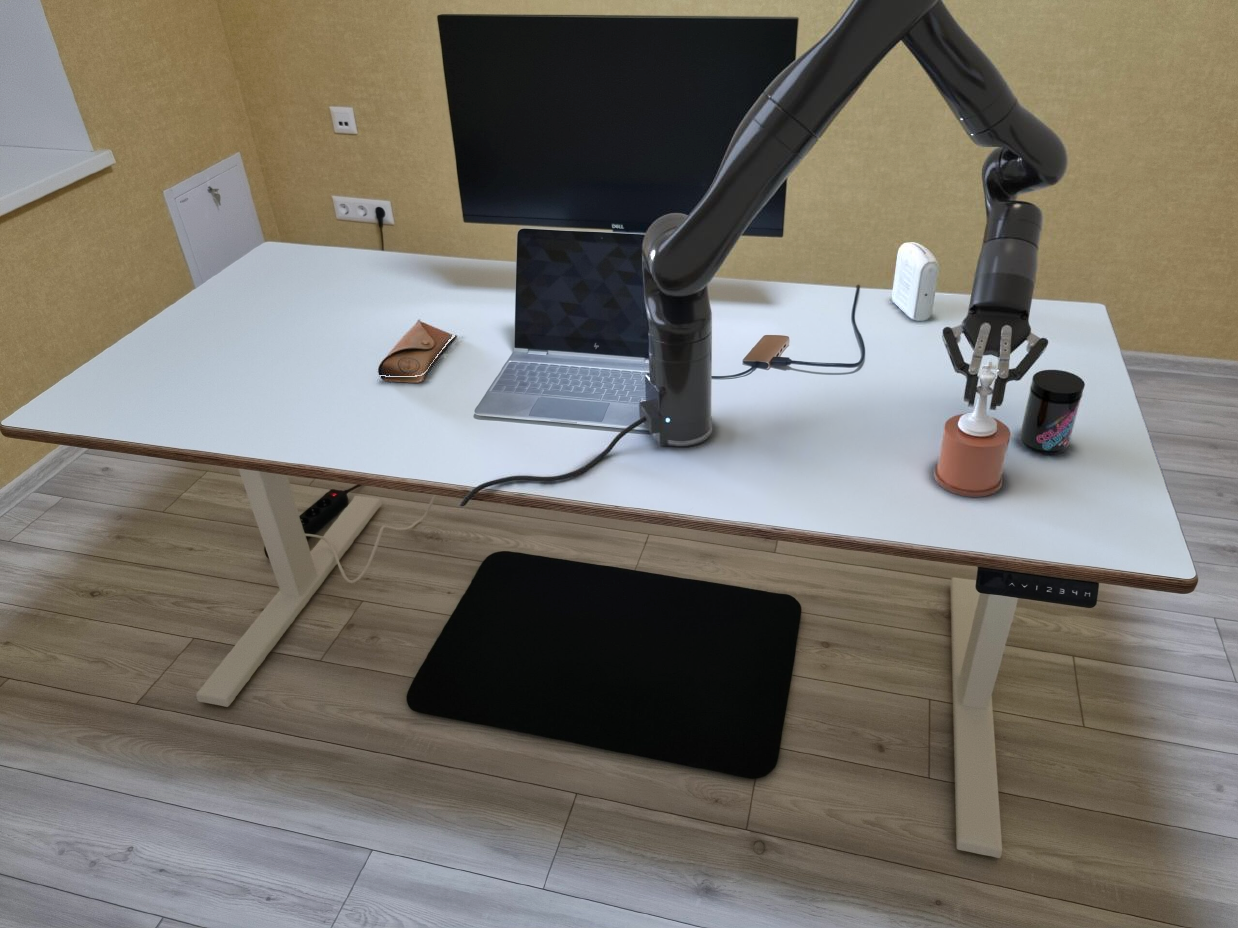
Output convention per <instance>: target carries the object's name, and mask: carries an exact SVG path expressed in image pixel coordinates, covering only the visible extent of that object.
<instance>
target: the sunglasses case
mask: <svg viewBox="0 0 1238 928" xmlns="http://www.w3.org/2000/svg"><path fill="white" fill-rule="evenodd" d="M452 335H453V334H452V333H450V332H447V331H445V330H442V329H440V328H437V327H435V326H433V325H431V324H428V323H426V322H423V321H421V318H418V319H417V320H416V323H414V325H413V326H412V327H411V328H410V329H409V330H408V331H406V333H405V334H404V335H403V336H402V337H401V338H400V340H399V341H397V343H396V344H395V345H394V347H393V348H392V349H391V350H390V351H389V352H388V353H387V354H386V356H385V357H384V358H383V359H382V360H381V362H380V363H379V365H378V368H377V374H378V376H379V375H386V376H389V375H390V376H415V375H421V374H422V373H424V372H425V371H426V370H427V369H428V367H429V366H430V364H431V363H432V362H433V360H434V359H435V357H436V356H437V354H439V352H440V351H441V350H442V348H443V347H444V346H445V344H446V343H447V342H448V340H449V339H451V337H452ZM454 335H455V337H454V338H453V339H452V340H451V341H450V342H449V343H448V344H447V345H446V347H445V348H444V349H443V350H442V352H441V353H440V354H439V355H438V357H437V358H436V359H435V360H434V362H433V363H432V364H431V366H430V367H429V369H428V371H427V372H426V373H425V374H424V375H422V376H417V377H385V376H381V377H380V376H379V378H380V379H381V380H382V381H383V382H386V383H388V382H389V383H396V384H418V383H422V382H424V381H425V380H426V378H427V376H428V374H429V373H430V371H431V370H432V368H433V367H434V365H436V363H437V362H438V360H439V359H440V358H441V357H442V356H443V355H444V354H445V352H446V351H447V350H448V348H449V347H450V346H451V345H452V344H453V343H454V341H455V340H456V339H457V337H458V335H457V334H454Z"/></svg>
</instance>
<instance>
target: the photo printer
mask: <svg viewBox="0 0 1238 928" xmlns="http://www.w3.org/2000/svg"><path fill="white" fill-rule="evenodd" d="M937 260H938V259H936V257H935V255H934V254H933V253H932V252H931V251H930V250H929V249H928V248H927V247H926V246H924V245H922V244H921V243H918V242H914V241H910V242H903V244H901V246H900V247H899V248H898V250H897V257H896V263H895V270H894V277H893V284H892V285H893V286H892V292H891V300H892V302H893V303H894V304H895V305H896V306H897V307H898V308H899V309H900V310H901V311H902V312H903V313H904V314H905V315H906V316H907V317H908V318H910V320H914V321H917V322H923V321H927V320H929V318H931V317H932V314H933V309H934V303H935V298H936V292H937V285H938V279H939V274H940V273H939V272H940V265H939V262H938V261H937Z"/></svg>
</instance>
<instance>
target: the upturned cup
mask: <svg viewBox="0 0 1238 928" xmlns="http://www.w3.org/2000/svg"><path fill="white" fill-rule="evenodd" d="M965 414H966V413H960V414H957V415H953V416H951V417H950V418H948V419H947V420H946V421H945V423H944V426H943V432H942V437H941V443H940V448H939V454H938V460H937V463H936V464H935V466H934V470H933V478H934V479H935V482H936V483H937V484H938V485H939V487H941V488H942V489H944V490H945V491H948V492H950V493H952V494H954V495H958V496H960V497H961V496H962V497H965V498H967V497H968V498H983V497H988V496H991V495H994V494H995V493H997V492H998V491H1000V489H1001V488H1002V485H1003V480H1004V475H1003V470H1004V467H1005V461H1006V457H1007V452H1008V448H1009V444H1010V440H1011V431H1010V428H1009V427H1008V426H1007V424H1005V423H1004V422H1003V421H1001V420H999V419H997V418H995V417H992V416H991V417H992V418H993V419H994V420H995V421H996V423H997V430H996V432H995V433H994V434H992V435H989V436H973V435H969V434H967V433H965V432H963V431H962V430H961V429H960V428H959V427H958V422H959V419H960V417H961V416H963V415H965Z"/></svg>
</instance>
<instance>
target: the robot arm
mask: <svg viewBox="0 0 1238 928" xmlns="http://www.w3.org/2000/svg"><path fill="white" fill-rule="evenodd" d="M957 21H958V20H956V18H954V16H953V15H952V13H951V12H950V11H949V9H948V7H947V6H946V4H945V3H944V1H943V0H852V1H850V3H849V5H848V7H847V8H846V10H845V11H844V12H843V13H842V15H841V16H840V17H839V19H838V20H837V21H836V23H835V24H834V25H833V26H832V28H830V29H829V30H828V32H827V33H825V34H824V36H822V37H821V38H820V39H819V40H817V42H816V43H815V44H813V45H812V46H811V47H809V48H808V49H807V50H806V51H805V52H803V53H802V54H801V55H799V56H798V57H797V58H796V59H795V60H794V61H792V62H791V63H790V64H789V65H788V66H787V67H785V68H784V69H783V70H782V71H781V72H779V74H778V75H777V76H776V77H775V78H774V79H773V80H772V81H771V82H770V83H769V84H768V86H767V87H766V88H765V89H764V91H763V92H762V93H761V94H760V95H759V97H758V98H757V99H756V101H754V103H753V105H752V106H751V108H750V109H749V110H748V111H747V112H746V114H745V115H744V116H743V118H742V120H741V121H740V123H739V125H738V126H737V128H736V130H735V131H734V133H733V136H732V137H731V140H730V142H729V144H728V146H727V148H726V150H725V153H724V155H723V158H722V160H721V163H720V165H719V168H718V170H717V172H716V175H715V177H714V179H713V181H712V182H711V184H710V186H709V188H708V189H707V191H706V192H705V194H704V195H703V197H702V198H701V199H700V200H699V202H698V203H697V204H696V205H695V207H694V208H693V209H692V210H691V212H689V214H685V213H681V212H672V213H668V214H664V215H662V216H660V217H658V218H657V219H656V220H654V221H653V222H652V223H651V224H650V226H649V227H648V229H646V231H645V234H644V237H643V239H642V245H641V267H642V269H641V270H642V284H643V285H642V286H643V302H644V308H645V316H646V324H647V347H648V352H647V353H648V372H646V373H645V374H644V386H645V389H644V390H645V400H643V401H640V402H638V411H639V418H638V420H636V421H634V422H633V423H631V424H629V425H628V426H626V427H625V428H624V429H623V430H621V431H620V432H619V433H618V434H617V435H616V436H615V437H614V438H613V439H612V440H611V442H610V443H609V444H608V446H607V447H606V448H605V449H604V450H602V452H601V453H599V454H598V455H597V456H596V457H594V458H593V459H592V460H591V461H589V462H587V464H585V465H583V466H582V467H580V468H578V469H576V470H573V471H570V472H566V473H563V474H560V475H559V474H558V475H553V476H540V475H539V476H538V475H537V476H536V475H511V476H505V477H501V478H497V479H493V480H490V481H486V482H483V483H480V484H479V485H477V486H476V487H473V488H472V489H471V490H470V491H469V492H468V493H467V494H466V495H465V496H464V497H463V499H462V500H461V502H460V503H459V507H465V506H466V505H467V504H468V502H469V501H470V500H471V499H472V498H473V497H474V496H475V495H476V494H477V493H478V492H480V491H482V490H484V489H487V488H489V487H492V486H496V485H501V484H505V483H509V482H515V481H528V482H529V481H530V482H542V483H543V482H545V483H546V482H557V481H562V480H567V479H570V478H572V477H576V476H578V475H581V474H582V473H585V472H586V471H588V470H590V469H591V468H593V467H594V466H595V465H596V464H598V463H599V462H600V461H601V460H603V458H605V457H606V456H607V455H608V454H609V453H610V452H611V451H612V450H613V448H614V447H615V446H616V444H617V443H618V442H619V441H620V440H621V439H622V438H623V437H624V436H625V435H627V434H628V433H630V432H631V431H633V430H634V429H636V428H637V427H639V426H641V425H642V424H644V426H645V427H646V429H647V430H648V431H649V433H650V434H651V436H652V438H654V439H655V441H656V443H657V444H658V445H659V446H660V447H666V446H670V447H690V446H695V445H698V444H701V443H703V442H705V441H706V440H707V439H709V438H710V436H711V435H712V433H713V422H712V421H713V420H712V419H713V418H712V396H713V395H712V394H713V393H712V392H713V391H712V387H713V386H712V384H713V383H712V382H713V380H712V377H713V368H712V367H713V364H712V363H713V361H712V359H713V357H712V355H713V354H712V353H713V350H712V349H713V312H712V308H711V302H710V296H709V287H708V286H709V284H710V282H712V280H713V279H714V278H715V277H716V275H717V273H718V272H719V271H720V269H721V267H722V266H723V265H724V263H725V262H726V260H727V258H728V256H729V255H730V254H731V252H732V251H733V249H734V248H735V246H736V245H737V243H738V242H739V240H740V238H741V237H742V236H743V234H744V232H745V231H746V230H747V228H748V227H749V225H750V224H751V223H752V221H753V220H754V219H755V218H756V217H757V215H758V214H759V213H760V212H761V211H762V209H763V208H764V207H765V206H766V205H767V204H768V202H769V201H770V200H771V199H772V197H774V196H775V194H776V193H777V191H778V190H779V189H780V187H781V186H782V185H783V184H784V183H785V181H786V180H787V179H788V178H789V176H790V175H791V174H792V173H793V172H794V171H795V169H796V168H798V166H799V165H800V164H801V163H802V162H803V160H804V159H805V158H806V156H807V155H808V154H809V153H810V152H811V150H812V149H813V148H814V147H815V146H816V144H817V143H818V141H819V140H820V139H821V138H822V136H823V135H825V133H826V131H827V130H828V129H829V128H830V126H831V125H832V123H833V122H834V120H835V119H837V117H838V116H839V114H840V113H841V112H842V111H843V109H844V108H845V107H846V106H847V104H849V102H850V101H851V99H852V98H853V97H854V96H855V94H856V93H857V92H858V90H859V89H860V88H861V86H862V85H863V84H864V83H865V81H866V80H867V78H868V77H869V76H870V75H871V73H872V72H873V71H874V70H875V69H876V68H877V66H878V65H880V63H881V62H882V61H883V60H884V59H885V57H887V55H888V54H889V53H890V52H891V51H892V50H893V49H894V48H895V47H896V46H897V45H898V44H899V43H900V42H902V44H903V45H904V46H905V47H906V48H907V50H908V51H909V53H911V55H912V56H913V57H914V58H915V60H916V61H917V62H918V64H919V65H920V67H921V68H922V69H923V71H924V72H925V74H926V75H927V76H928V78H929V79H930V81H931V82H932V84H933V85H934V87H935V88H936V90H937V91H938V93H939V94H940V96H941V97H942V99H943V101H944V102H945V104H946V105H947V107H948V108H949V110H950V112H952V114H953V116H954V117H955V118H956V120H957V121H958V123H959V125H960V126H961V127H962V129H963V130H964V132H965V133H966V135H967V136H968V137H969V139H970V140H971V141H972V143H973V144H975V145H976V146H978V147H981V148H994V149H992V150H991V151H990V152H989V153H988V155H987V156H986V158H985V159H984V162H983V165H982V168H981V183H982V189H983V194H984V195H983V197H984V208H985V217H986V218H985V220H986V221H985V222H986V223H985V227H984V232H983V237H982V243H981V248H980V252H979V256H978V258H977V261H976V265H975V271H974V274H973V283H972V288H971V294H970V299H969V305H968V312H967V314H966V316H965V318H964V319H963V320H962V322H961V324H960V325H957V326H954V327H951V326H945V327H944V328H943V329H942V334H941V339H942V342H943V344H944V347H945V350H946V352H947V355H948V357H949V360H950V363H951V365H952V368H953V371H954V372H955V373H956V374H961V375H963V376H964V377H965V378H966V382H965V387H964V392H963V393H964V394H963V401H964V402H965V403H967V407H969V408H974V406H975V401H976V397H977V392H976V390H977V387H978V384H979V380H980V377H979V373H980V368H981V366H982V365H981V364H982V361H983V358H984V356H993V357H996V358H997V363H996V366H997V367H996V370H997V371H996V378H995V379H994V381H993V382H994V383H993V388H992V389H993V393H992V394H991V398H990V399H991V400H990V404H989V410H991V411H996V410H997V407H1001V406H1002V405H1003V402H1004V398H1005V394H1006V393H1005V392H1006V387H1007V384H1008V383H1009V382H1013V381H1016V382H1019V381H1021V380H1022V378H1023V377H1024V376H1025V375H1026V374H1027V373H1028V372H1029V370H1030V369H1031V368H1032V366H1034V364H1035V363H1036V362H1037V361H1038V359H1040V357H1041V356H1042V355H1043V354H1044V352H1045V351H1046V350H1047V347H1048V345H1049V340H1048V338H1046V337H1039V336H1038V335H1036V334H1034V333H1033V332H1032V327H1031V325H1030V321H1029V320H1030V314H1031V308H1032V301H1033V297H1034V290H1035V285H1036V281H1037V273H1038V265H1039V264H1038V263H1039V261H1038V257H1039V249H1040V243H1041V236H1042V230H1043V226H1044V225H1043V224H1044V214H1043V211H1042V209H1041V208H1040V207H1039V206H1038V205H1037V204H1035V203H1032V202H1029V201H1024V200H1018V197H1019V196H1020V195H1023V194H1027V193H1032V192H1035V191H1036V192H1037V191H1040V190H1043V189H1044V190H1045V189H1047V188H1050V187H1053V186H1055V185H1057V184H1058V183H1060V181H1062V179H1063V178H1064V176H1065V175H1066V173H1067V170H1068V166H1069V155H1068V150H1067V148H1066V146H1065V144H1064V142H1063V140H1062V138H1061V137H1060V136H1059V135H1058V134H1057V133H1056V132H1055V131H1054V130H1053V129H1052V128H1051V127H1050V126H1048V125H1047V124H1046V123H1045V122H1043V121H1042V120H1041V119H1040V118H1038V117H1037V116H1036V115H1035V114H1034V113H1033V112H1031V111H1030V110H1029V109H1027V108H1026V107H1024V105H1022V104H1021V103H1020V101H1019V100H1018V98H1017V96H1016V95H1015V94H1014V92H1013V90H1012V88H1011V87H1010V85H1009V84H1008V82H1007V81H1006V79H1005V78H1004V76H1003V74H1002V73H1001V72H1000V69H999V68H998V67H997V66H996V64H995V63H994V61H992V60H991V58H990V57H989V56H988V54H986V53H985V52H984V51H983V49H982V48H981V47H980V46H979V45H978V44H977V43H976V42H975V41H974V40H973V38H971V37H970V35H969V34H968V33H967V32H966V31H965V30H964V29H963V27H962V26H961V25H960V24H959V23H958V22H957ZM962 335H963V336H965V337H964V338H965V339H966V341H967V342H968V345H969V346H970V347H971V349H972V351H973V353H972V357H971V360H970V363H968V362H965V359H964V357H963V354H962V351H961V349H960V346H959V344H960V343H961V339H962V337H961V336H962ZM1025 342H1027V344H1026V349H1025V350H1026V352H1027V354H1026V355H1025V356H1024V357H1023V358H1022V359H1021V360H1020V361H1019V363H1018V364H1017V365H1016V366H1015V367H1014V368H1010V360H1011V359H1010V358H1011V355H1012V354H1013V353H1014V352H1015V351H1017V349H1018V348H1019V347H1020V346H1021V345H1022V344H1024V343H1025Z"/></svg>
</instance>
